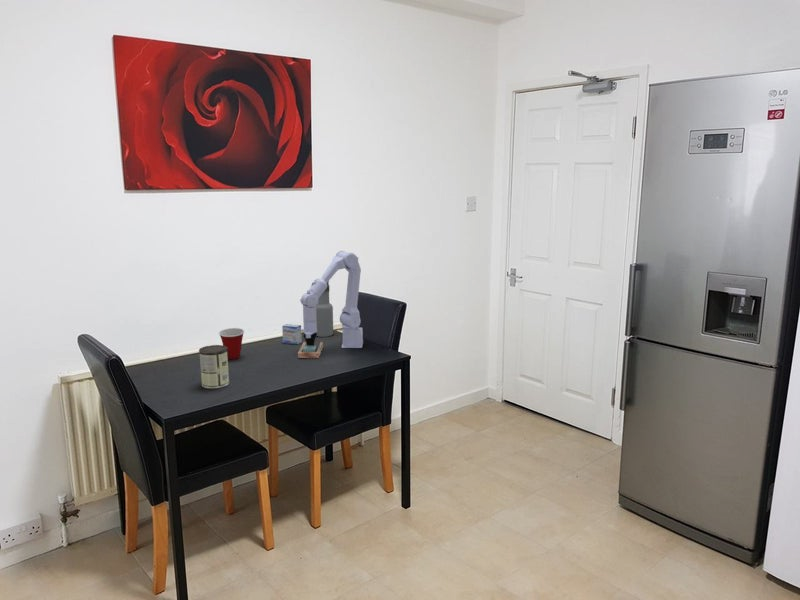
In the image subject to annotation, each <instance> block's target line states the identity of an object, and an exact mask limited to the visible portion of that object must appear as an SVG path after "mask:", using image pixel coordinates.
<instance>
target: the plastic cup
mask: <svg viewBox="0 0 800 600" xmlns="http://www.w3.org/2000/svg"><path fill="white" fill-rule="evenodd" d="M244 333H245V330H244V329H243V328H239V327H230V328H225V329H222V330H220V331H219V332H218V335H219V337H220V338H221V339H220V340H221V341H222V345H223V346H226V347H227V355H228V360H237V358H238V359H239V357H241V353H242V352H241V351H242V345H243V339H244V338H243V337H244Z"/></svg>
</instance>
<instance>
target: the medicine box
mask: <svg viewBox="0 0 800 600" xmlns="http://www.w3.org/2000/svg"><path fill="white" fill-rule="evenodd" d="M301 330H302V325H300V324H291V323H290V324H289V323H286V324H283V325H282V330H281V331H282V344H283V343H288V344H287V345H296V344H298V345H299V343H300V344H301V343H303V341H302V332H301Z"/></svg>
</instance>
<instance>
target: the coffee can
mask: <svg viewBox="0 0 800 600" xmlns="http://www.w3.org/2000/svg"><path fill="white" fill-rule="evenodd" d="M198 352H199V362H200V365H199V367H200V376H201V386H202V387H203V388H205V389H220V388H224V387H226V386H228V385H230V375H229V374H230V373H229V359H228V355H227V347H226V346H223V344H213V345H206V346H203V347H201V348H199V349H198Z"/></svg>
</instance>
